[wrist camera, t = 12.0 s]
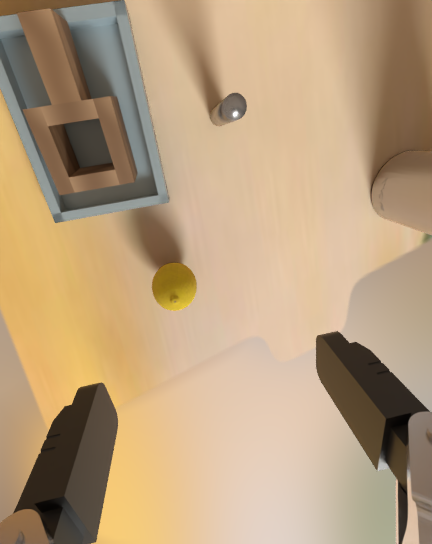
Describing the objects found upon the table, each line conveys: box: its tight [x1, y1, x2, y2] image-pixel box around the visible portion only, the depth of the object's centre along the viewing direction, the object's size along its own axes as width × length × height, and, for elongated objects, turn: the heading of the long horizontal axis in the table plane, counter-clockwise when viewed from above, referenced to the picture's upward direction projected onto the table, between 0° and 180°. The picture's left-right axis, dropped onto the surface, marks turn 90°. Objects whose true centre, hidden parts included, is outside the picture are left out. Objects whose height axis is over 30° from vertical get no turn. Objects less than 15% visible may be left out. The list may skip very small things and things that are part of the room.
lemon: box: [152, 263, 196, 311], centre depth 35 cm, size 6×6×8 cm
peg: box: [210, 93, 247, 126], centre depth 28 cm, size 2×2×9 cm
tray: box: [0, 0, 169, 223], centre depth 29 cm, size 13×18×2 cm
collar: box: [17, 8, 138, 195], centre depth 27 cm, size 8×14×4 cm, turn 7°
